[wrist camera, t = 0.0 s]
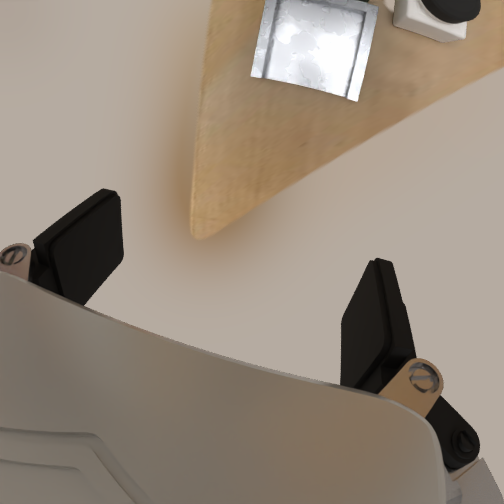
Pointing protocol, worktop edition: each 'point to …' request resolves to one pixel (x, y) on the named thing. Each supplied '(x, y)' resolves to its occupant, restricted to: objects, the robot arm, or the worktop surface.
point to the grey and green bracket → (316, 44)
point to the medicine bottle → (436, 17)
